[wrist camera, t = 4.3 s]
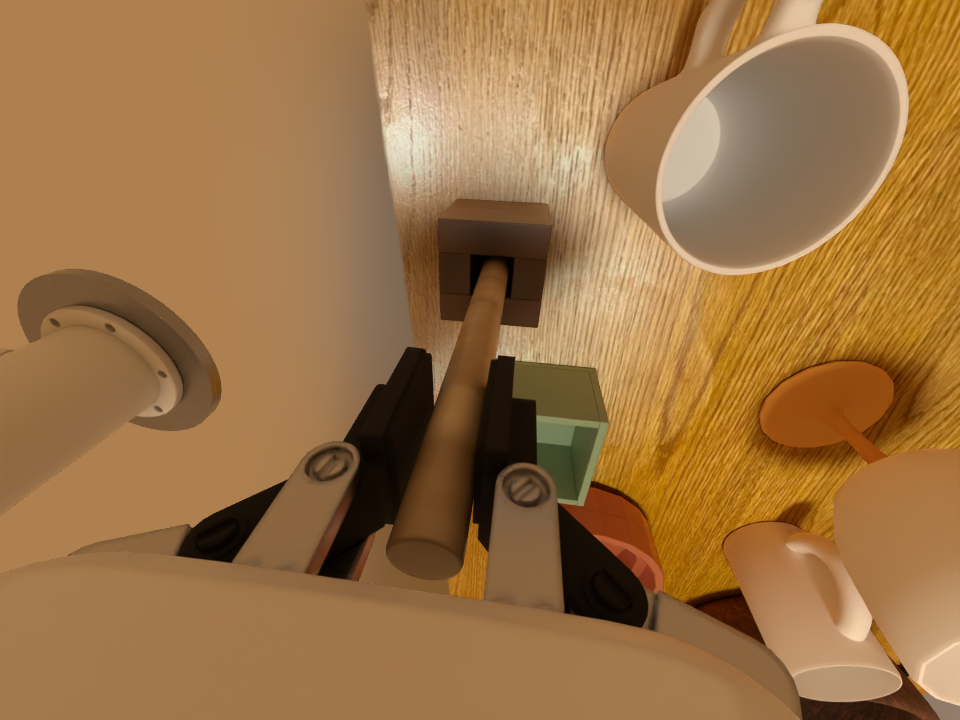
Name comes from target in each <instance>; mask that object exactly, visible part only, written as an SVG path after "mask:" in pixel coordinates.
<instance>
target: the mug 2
mask: <svg viewBox="0 0 960 720" xmlns="http://www.w3.org/2000/svg"><path fill="white" fill-rule="evenodd" d="M723 550H724V553H725V555H726V557H727V560H728V562H729V564H730V566H731V569H732V571H733V573H734V575H735V577H736V580H737V582H738V584H739V586H740V589H741V591H742V593H743V595H744V597H745V600H746V602H747V604H748V606H749V608H750V611H751V613H752V615H753V617H754V620H755V622H756V624H757V626H758V628H759V631H760V633H761V635H762V637H763V640H764V642H765V644H766V646H767V647H768V648H769V649H771V650H772V651H773V653H774V654H775V655H776V656H777V657H778V658H779V659H780V660H781V661H782V662H783V663H784V664H785V666H786V668H787V669H788V671H789V672H790V674H791V676H792V677H793V679H794V681H795V684H796V688H797V691H798V694H799V696H801V697H804V698H808V699H813V700H819V701H830V702H853V701H863V700H870V699H876V698H880V697H883V696H886V695H889V694H891V693H893V692H895V691H897V690H898V689H899V688H900V687H901V686H902V679H901V675H900V674H899V672H898V671H897V669H896V668H895V666H894V665H893V663H892V662H891V660H890V659H889V657H888V656H887V654H886V653H885V651H884V650H883V648H882V647H881V645H880V644H879V642H878V641H877V639H876V638H875V636H874V635H873V633H872V632H871V630H870V627H871V624H872V618H873V617H872V616H871V614H870V612H869V610H868V608H867V607H866V605H865V603H864V601H863V599H862V597H861V596H860V594H859V592H858V590H857V588H856V587H855V585H854V583H853V581H852V579H851V578H850V576H849V574H848V572H847V570H846V569H845V566H844V564H843V561H842V558H841V556H840V553H839V550H838V547H837V545H836V543H835V542H833V541H832V540H830V539H828V538H826V537H823V536H820V535H818V534H815V533H810V532H803V531H802V530H801V529H799V528H798V527H796V526H794V525H791V524H788V523H783V522H760V523H755V524H750V525H747V526H744V527H741V528H739V529H737V530H735V531H734V532H732V533H731V534H730V535H729V536H728V537H727V538H726V539H725V541H724V545H723Z"/></svg>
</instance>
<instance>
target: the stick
mask: <svg viewBox="0 0 960 720" xmlns="http://www.w3.org/2000/svg"><path fill="white" fill-rule="evenodd" d="M510 260H511V257H503V256H489V255H486V258H485V261H484V264H483V267H482V269H481V272H480V275H479V278H478V281H477V284H476V287H475V290H474V293H473V296H472V299H471V301H470V304H469V307H468V310H467V313H466V316H465V319H464V322H463V325H462V328H461V330H460V333H459V336H458V339H457V342H456V345H455V348H454V351H453V354H452V357H451V360H450V362H449V365H448V368H447V371H446V374H445V377H444V380H443V383H442V386H441V389H440V392H439V394H438V397H437V400H436V403H435V406H434V409H433V412H432V415H431V418H430V421H429V424H428V426H427V429H426V432H425V435H424V438H423V441H422V444H421V447H420V450H419V453H418V455H417V458H416V461H415V464H414V467H413V470H412V473H411V476H410V479H409V482H408V485H407V487H406V490H405V493H404V496H403V499H402V502H401V505H400V508H399V511H398V514H397V517H396V519H395V522H394V525H393V528H392V531H391V534H390V537H389V540H388V543H387V546H386V555H387V558H388V560H389V561H390V563H391V564H392V565H393V566H394V567H396V568H397V569H398V570H400V571H402V572H404V573H406V574H408V575H411V576H413V577H417V578H421V579H426V580H444V579H448V578H451V577H453V576H455V575H457V574H458V573H459V572H460V570H461V569H462V567H463V564H464V557H465V551H466V545H467V538H468V532H469V525H470V519H471V512H472V506H473V499H474V480H475V456H476V445H477V438H478V433H479V427H480V421H481V415H482V409H483V403H484V398H485V392H486V386H487V380H488V374H489V369H490V363H491V359H494V360H495V357H496V351H497V344H498V338H499V331H500V325H501V318H502V312H503V306H504V299H505V293H506V286H507V280H508V273H509V267H510Z"/></svg>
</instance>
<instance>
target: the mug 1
mask: <svg viewBox="0 0 960 720" xmlns="http://www.w3.org/2000/svg"><path fill="white" fill-rule="evenodd" d="M746 1H747V0H711V1H710V3H709V4H708V5H707V7H706V8H705V9H704V11H703V12H702V14H701V16H700V17H699V20H698V22H697V26H696V29H695V33H694V37H693V41H692V45H691V49H690V52H689V55H688V58H687V61H686V64H685V66H684V68H683V70H682V71H681V73H680V74H679V75H677V76H676V77H674V78H672V79H669V80H667V81H664V82H662V83H660V84H658V85H656V86H654V87H652V88H650V89H648V90H646V91H644V92H643V93H641V94H640V95H638V96H637V97H636V98H634V99H633V100H632V101H631V102H630V103H629V104H628V105H627V106H626V107H625V108H624V109H623V111H622V112H621V113H620V115H619V116H618V118H617V119H616V121H615V123H614V124H613V126H612V128H611V131H610V133H609V136H608V139H607V143H606V147H605V156H604V163H605V171H606V175H607V178H608V180H609V183H610V184H611V186H612V188H613V189H614V191H615V192H616V193H617V194H618V195H619V196H620V198H621V199H622V200H623V201H624V202H625V203H626V204H627V205H628V206H629V207H630V208H631V209H632V210H633V211H634V212H635V213H636V214H637V215H638V216H639V217H640V218H641V219H642V220H643V221H644V222H645V223H646V224H647V225H648V226H649V227H650V228H651V229H652V230H653V231H654V232H655V233H656V234H657V235H658V236H659V237H660V238H661V239H662V240H663V241H664V242H665V243H666V244H668V245H669V246H670V247H671V248H672V249H673V250H674V251H675V252H676V253H677V254H678V255H679V256H680V257H681V258H683V259H684V260H685V261H687V262H688V263H690V264H692V265H693V266H695V267H697V268H700V269H702V270H705V271H708V272H712V273H716V274H722V275H745V274H752V273H758V272H762V271H766V270H770V269H773V268H776V267H779V266H782V265H784V264H787V263H789V262H791V261H794V260H796V259H798V258H800V257H802V256H804V255H806V254H807V253H809V252H811V251H813V250H814V249H816V248H817V247H819V246H820V245H822V244H823V243H825V242H826V241H828V240H829V239H830V238H832V237H833V236H834V235H835V234H837V233H838V232H839V231H840V230H841V229H843V228H844V227H845V226H846V225H847V224H848V223H849V222H850V221H851V220H852V219H853V218H854V217H855V216H856V215H857V214H858V213H859V212H860V211H861V210H862V209H863V208H864V207H865V205H866V204H867V203H868V202H869V201H870V199H871V198H872V197H873V195H874V194H875V193H876V191H877V190H878V188H879V187H880V186H881V184H882V182H883V181H884V179H885V178H886V176H887V174H888V172H889V171H890V169H891V167H892V165H893V163H894V161H895V159H896V156H897V154H898V151H899V149H900V146H901V143H902V140H903V137H904V133H905V129H906V124H907V118H908V108H909V96H908V87H907V82H906V78H905V74H904V71H903V69H902V66H901V64H900V62H899V60H898V59H897V57H896V56H895V54H894V53H893V51H892V50H891V49H890V48H889V47H888V46H887V45H886V44H885V43H884V42H883V41H882V40H880V39H879V38H878V37H876V36H875V35H873V34H871V33H869V32H867V31H865V30H863V29H860V28H857V27H854V26H849V25H844V24H833V23H827V24H816V19H817V16H818V12H819V9H820V7H821V4H822V2H823V0H775V3H774V5H773V8H772V10H771V13H770V15H769V18H768V20H767V22H766V24H765V26H764V28H763V30H762V31H761V33H760V34H759V35H758V37H757V38H756V39H755V41H754V42H753V43H752V44H750V45H749V46H747V47H746V48H745V49H743V50H741V51H738V52H736V53H733V54H731V55H728V56H726V57H723V55H724V51H725V48H726V45H727V42H728V38H729V36H730V33H731V31H732V28H733V26H734V24H735V22H736V20H737V18H738V16H739V14H740V12H741V10H742V8H743V6H744V5H745V3H746Z"/></svg>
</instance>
